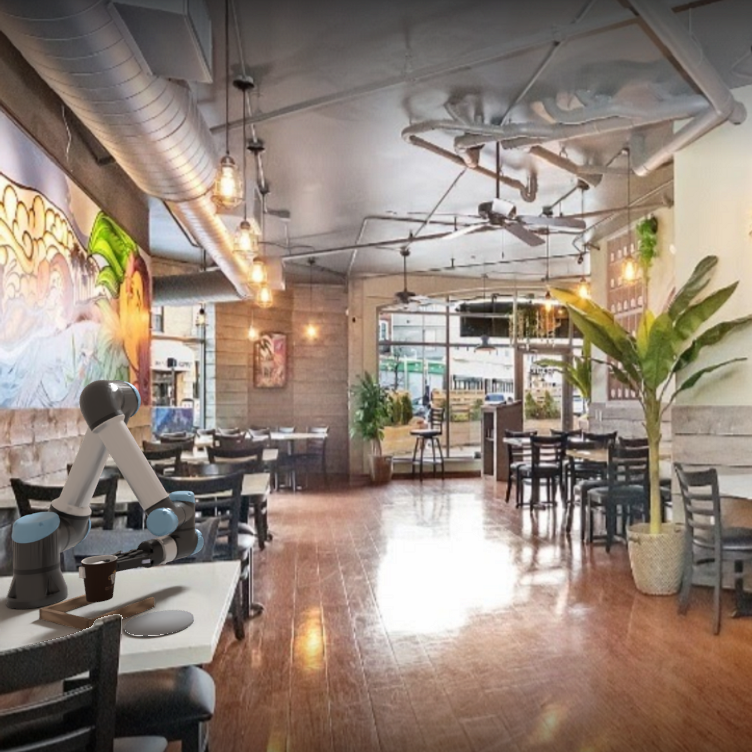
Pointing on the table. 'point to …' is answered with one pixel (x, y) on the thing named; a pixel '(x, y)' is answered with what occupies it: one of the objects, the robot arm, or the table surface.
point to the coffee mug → (99, 578)
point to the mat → (159, 622)
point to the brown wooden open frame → (58, 616)
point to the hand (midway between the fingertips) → (80, 572)
